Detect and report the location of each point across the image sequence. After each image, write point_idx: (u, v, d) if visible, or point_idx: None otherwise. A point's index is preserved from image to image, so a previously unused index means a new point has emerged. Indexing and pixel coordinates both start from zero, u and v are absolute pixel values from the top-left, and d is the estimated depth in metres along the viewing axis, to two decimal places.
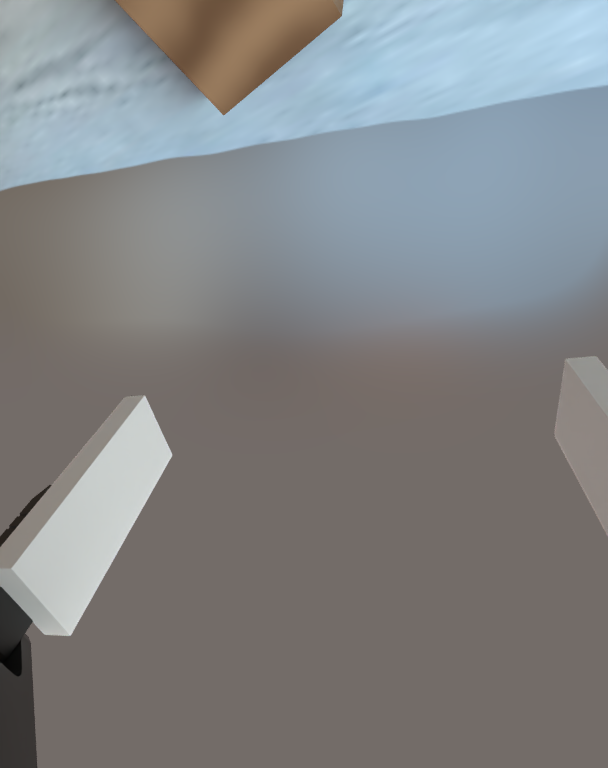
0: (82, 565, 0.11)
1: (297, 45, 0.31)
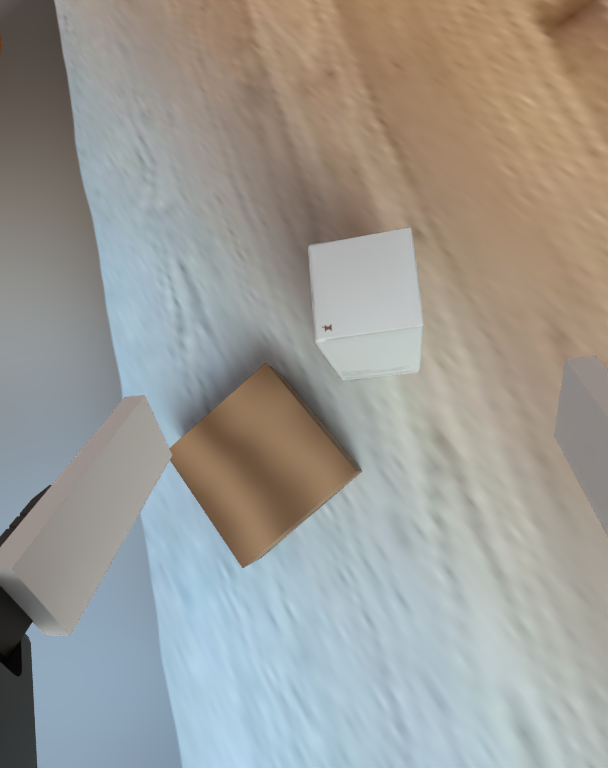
0: (82, 565, 0.11)
1: (221, 528, 0.36)
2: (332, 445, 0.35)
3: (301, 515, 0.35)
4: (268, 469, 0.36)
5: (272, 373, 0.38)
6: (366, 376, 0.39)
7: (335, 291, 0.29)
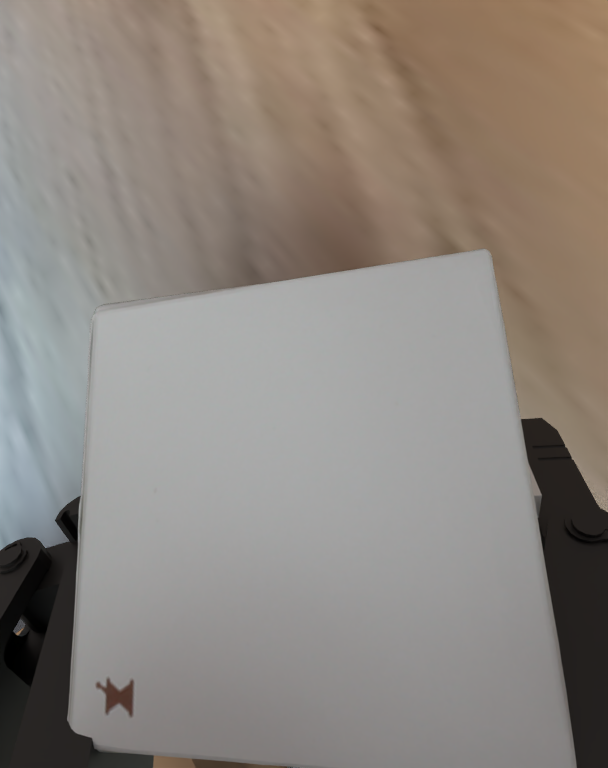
0: None
1: None
2: None
3: None
4: None
5: None
6: None
7: (163, 520, 0.07)
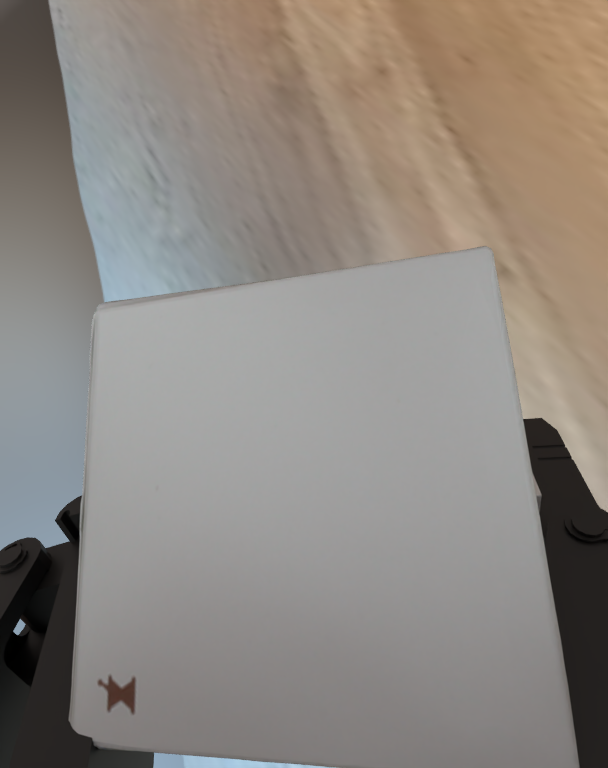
0: None
1: None
2: None
3: None
4: None
5: None
6: None
7: (165, 517, 0.07)
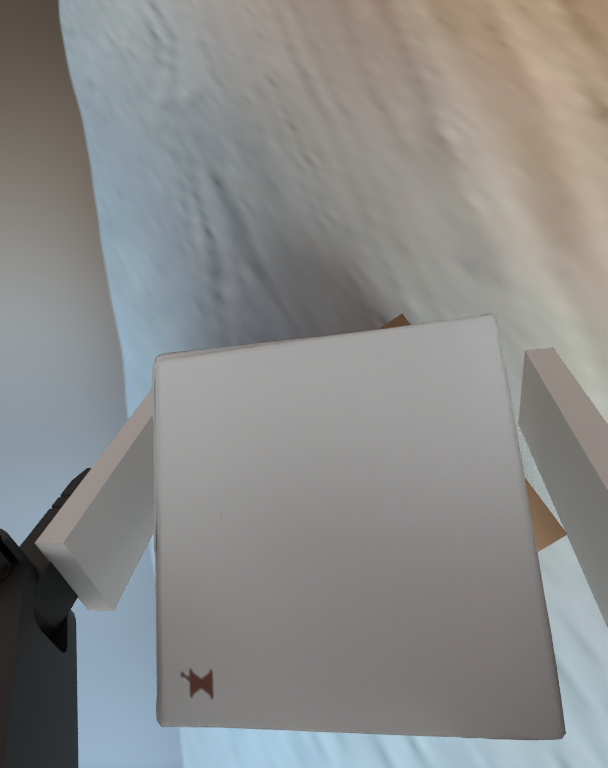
0: (123, 544, 0.12)
1: None
2: None
3: None
4: None
5: None
6: None
7: (229, 540, 0.08)
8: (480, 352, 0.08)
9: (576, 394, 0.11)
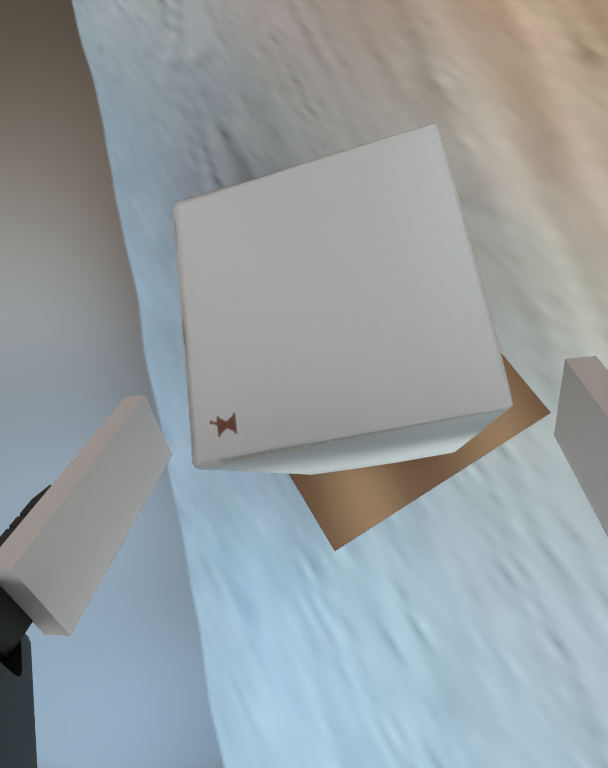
0: (82, 565, 0.11)
1: (302, 482, 0.22)
2: (509, 367, 0.21)
3: (445, 476, 0.21)
4: None
5: None
6: (355, 468, 0.20)
7: (241, 317, 0.10)
8: (427, 150, 0.10)
9: None
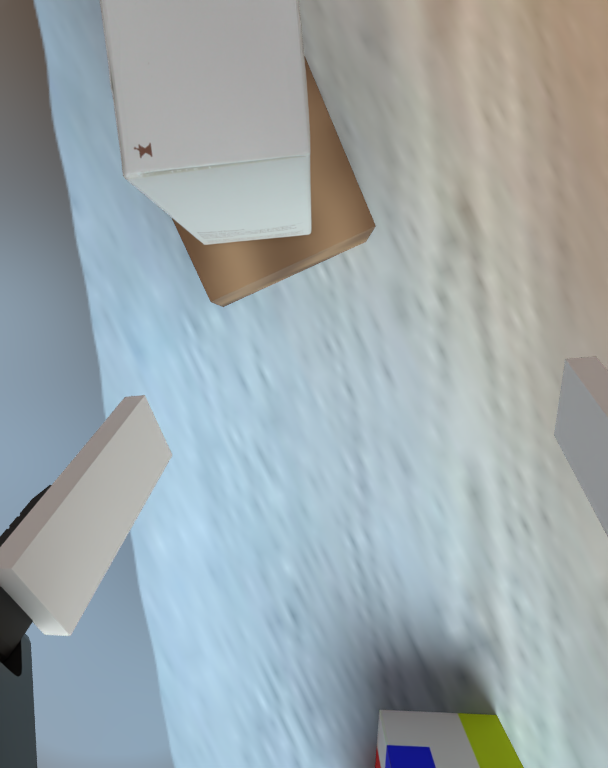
0: (82, 565, 0.11)
1: (192, 249, 0.29)
2: (357, 187, 0.28)
3: (297, 259, 0.29)
4: None
5: (306, 66, 0.28)
6: (237, 239, 0.27)
7: (154, 76, 0.16)
8: None
9: None
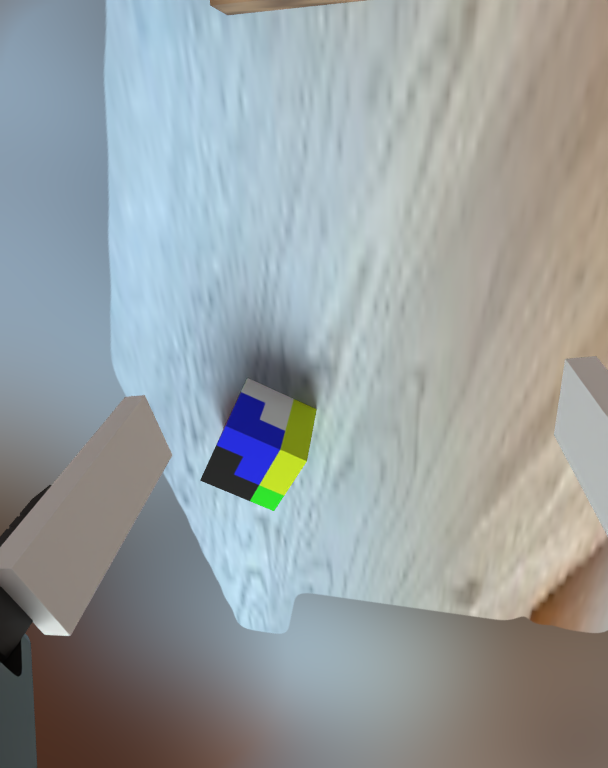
0: (82, 565, 0.11)
1: None
2: None
3: None
4: None
5: None
6: None
7: None
8: None
9: None
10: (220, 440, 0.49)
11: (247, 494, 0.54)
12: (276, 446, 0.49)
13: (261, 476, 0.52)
